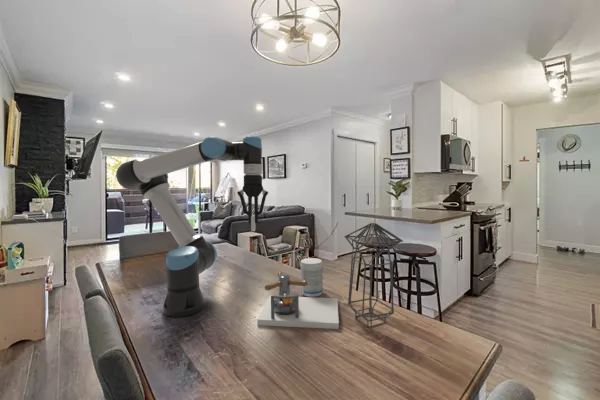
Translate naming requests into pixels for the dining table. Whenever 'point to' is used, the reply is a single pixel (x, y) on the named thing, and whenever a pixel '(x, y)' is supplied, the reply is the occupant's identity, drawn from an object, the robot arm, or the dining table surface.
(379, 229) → the geometric lantern
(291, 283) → the capstan
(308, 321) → the white base plate
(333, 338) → the dining table surface
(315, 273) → the supplement tub
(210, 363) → the dining table surface
